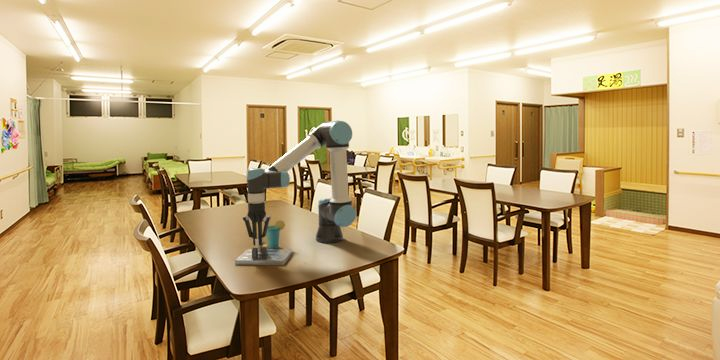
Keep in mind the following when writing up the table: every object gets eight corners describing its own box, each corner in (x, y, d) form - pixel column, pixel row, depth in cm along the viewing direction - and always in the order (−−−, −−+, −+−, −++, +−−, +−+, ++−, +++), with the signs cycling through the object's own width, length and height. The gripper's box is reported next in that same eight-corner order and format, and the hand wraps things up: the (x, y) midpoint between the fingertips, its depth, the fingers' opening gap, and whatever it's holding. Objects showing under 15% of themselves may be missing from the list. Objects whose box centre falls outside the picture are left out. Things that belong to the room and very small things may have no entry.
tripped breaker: (267, 252, 187) (267, 244, 187) (266, 254, 185) (266, 246, 184) (263, 252, 187) (263, 244, 187) (262, 254, 185) (261, 246, 184)
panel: (292, 253, 195) (292, 240, 194) (283, 265, 177) (283, 251, 176) (248, 252, 196) (247, 240, 195) (235, 264, 178) (234, 250, 177)
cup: (258, 250, 199) (257, 221, 197) (256, 247, 206) (255, 218, 205) (286, 248, 204) (285, 219, 203) (283, 244, 211) (283, 216, 210)
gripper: (272, 200, 187) (273, 249, 190) (245, 200, 188) (246, 249, 190) (268, 203, 180) (269, 254, 182) (239, 203, 180) (241, 254, 183)
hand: (258, 251), depth 186 cm, fingers closed
